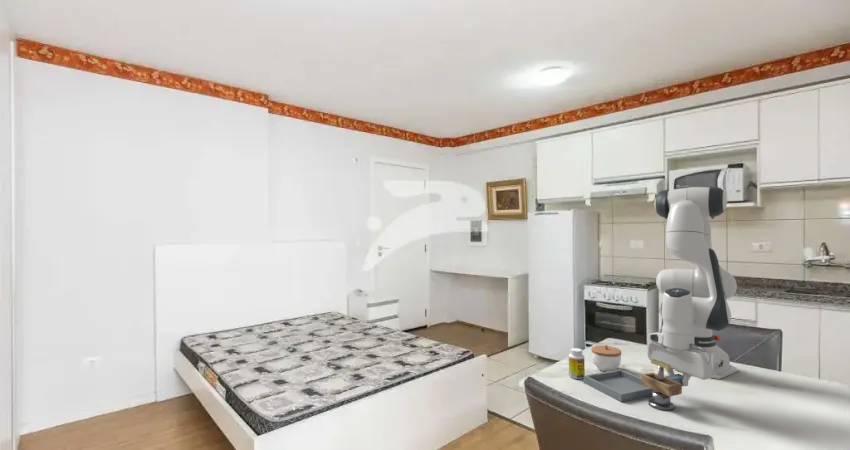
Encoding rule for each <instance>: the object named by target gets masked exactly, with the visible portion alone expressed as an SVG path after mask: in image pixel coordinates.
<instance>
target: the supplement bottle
mask: <svg viewBox="0 0 850 450" xmlns="http://www.w3.org/2000/svg"><path fill="white" fill-rule="evenodd" d="M585 373H586V372H585V355H584V354H583V349H581V348H578V347H576V348H575V347H572V348H570V353H569V354H568V376H569V377H570V378H571V379H575V380H584V376H586V375H585Z"/></svg>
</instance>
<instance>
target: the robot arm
mask: <svg viewBox="0 0 850 450" xmlns="http://www.w3.org/2000/svg"><path fill="white" fill-rule="evenodd" d="M653 202H654V204H653V206H654V209H655V212H656V214H657V215H658V216H659V217H661V218H664V219H665V220H666V227H665V229H666V230H665V243H666V248H667V250H668V251H669V252H670V253H671V254H672V255H673V256H675V257H676V258H678V259H679V260H680V259H681V260H683V261H685V262H689V263H691V264H694V266H695V267H696V268H678V267H677V268H675V267H674V268H665V269H661V270H660V271H659V272H658V274H657V275H656V278H655V283H656V284H655V285H656V287H657V289H658V291H659V292H661V294H663V296H662V302H661V303H660V316H661V318H662V327H661V331H657V332H652V333H648V336H647V338H648V340H649V341H648V342H647V349H646V350H647V351H646V352H647V353H646V354H647V357H648V360H649V361H651V359H655V360H658V361H661V362H664V363H666V364H669V365H671V369H665V370H666V372H667V374H668V375H667V376H670V375H675V374H676V373H675V372H674V370H676V371H678V372H680V373H682V375H683V376H684V378H683V379H680V383H681V384H682V385H683V386H682V387H687V386H688V387H689V380H691V377H692V376H693V377H694V378H697V379H700V380H702V381H703V380H710V379H711V378H712V379H715V380H717V379H718V380H721V379H723V378H725V377H728V376H730V375H732V374H735V373H737V372H738V371H739V370H738V367H736V366H734V365H732V364H731V363H730V361H731V360H730V357H729V356H730V355H729V354H728V353H727V352H725V350H723V349H722V348H721V347H719V346H718V345H717V342H720V341H721V339H722V337H721V335H718V334H714V333H713V331H717V332H720V331H722V330H724V329H726V328H727V327H729V326H730V325H731V322H732V321H731V320H732V312H731V309H730V307H729V304H728V302H727V299H728V300H729V299H731V298H732V297H733V296H734V295H735V294H736V292H737V288H738V284H737V280H736V278H735V277H734V276H733V275H732V274H731V273H730V272H728V271H727V270H725V268H723V267H721V265H720V263H719V259H718V256H717V254H716V251H715V250H714V249H713V248H712V247H713V246H712V229H711V226H712V225H711V219H712V220H713V219H715V217H719V216H721V215H722V214H723V213H725V210H726V208H727V205H728V197H727V195H726V193H725V191H724V189H722V188H721V187H719V186H718V187H717V186H709V187H707V186H692V187H691V186H690V187H689V186H688V187H683V188H676V189H675V188H674V189H664V190H660V191H659V192H658V193H657V194H656V196H655V199H654V201H653ZM710 218H711V219H710ZM716 341H717V342H716Z"/></svg>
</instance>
